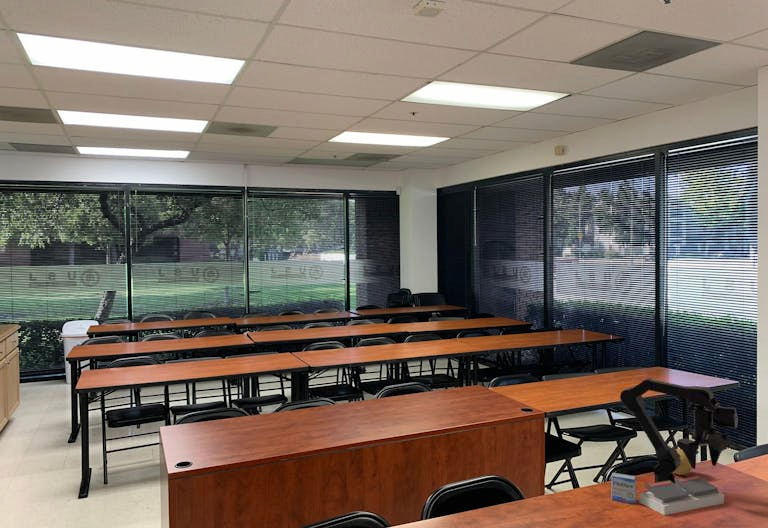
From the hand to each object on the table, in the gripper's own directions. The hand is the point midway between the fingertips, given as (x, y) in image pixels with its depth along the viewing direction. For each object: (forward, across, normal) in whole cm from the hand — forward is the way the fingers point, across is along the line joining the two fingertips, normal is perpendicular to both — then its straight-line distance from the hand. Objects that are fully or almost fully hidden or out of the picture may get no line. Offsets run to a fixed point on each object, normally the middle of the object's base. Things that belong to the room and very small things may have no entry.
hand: (703, 467), depth 198 cm
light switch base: (+11, -10, 0) cm, 15 cm away
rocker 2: (+7, -3, 0) cm, 8 cm away
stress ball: (+12, +11, +22) cm, 27 cm away
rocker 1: (+7, -17, 0) cm, 18 cm away
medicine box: (+12, -28, +8) cm, 31 cm away
